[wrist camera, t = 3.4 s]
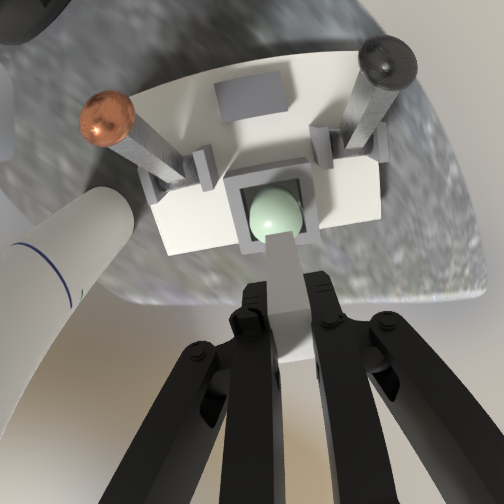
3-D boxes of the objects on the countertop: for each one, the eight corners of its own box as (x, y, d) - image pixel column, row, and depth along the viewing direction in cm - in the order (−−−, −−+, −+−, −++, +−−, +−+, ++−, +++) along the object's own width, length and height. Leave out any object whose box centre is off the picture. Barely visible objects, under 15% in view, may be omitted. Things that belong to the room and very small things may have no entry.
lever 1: (167, 165, 22) (69, 96, 9) (200, 157, 22) (120, 69, 9) (170, 197, 22) (63, 145, 9) (205, 189, 21) (117, 119, 9)
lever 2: (323, 134, 20) (352, 21, 8) (357, 130, 20) (411, 26, 8) (331, 166, 20) (377, 68, 8) (366, 161, 20) (438, 72, 7)
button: (246, 189, 21) (244, 202, 18) (293, 180, 21) (298, 192, 18) (255, 231, 23) (255, 249, 20) (299, 223, 22) (305, 240, 20)
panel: (132, 100, 21) (101, 101, 16) (351, 55, 19) (376, 43, 14) (175, 243, 28) (158, 274, 23) (371, 209, 26) (395, 233, 21)
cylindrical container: (135, 190, 25) (-59, 409, 3) (134, 253, 29) (14, 469, 7) (77, 183, 25) (-107, 342, 3) (81, 242, 28) (-51, 414, 6)
